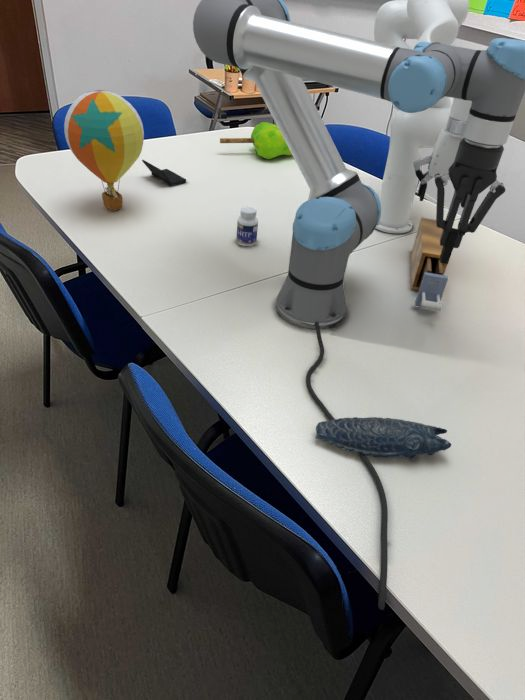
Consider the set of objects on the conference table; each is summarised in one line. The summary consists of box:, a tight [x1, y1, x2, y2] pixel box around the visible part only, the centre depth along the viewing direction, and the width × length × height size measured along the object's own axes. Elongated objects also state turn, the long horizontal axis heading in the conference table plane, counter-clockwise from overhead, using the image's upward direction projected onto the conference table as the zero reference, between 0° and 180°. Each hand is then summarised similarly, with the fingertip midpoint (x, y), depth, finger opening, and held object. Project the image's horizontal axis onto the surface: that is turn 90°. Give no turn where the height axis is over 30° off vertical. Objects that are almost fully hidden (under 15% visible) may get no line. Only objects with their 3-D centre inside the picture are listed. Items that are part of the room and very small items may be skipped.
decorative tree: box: [219, 121, 293, 160], centre depth 186 cm, size 18×10×30 cm
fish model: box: [315, 416, 452, 459], centre depth 82 cm, size 7×21×5 cm, turn 84°
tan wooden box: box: [410, 217, 448, 292], centre depth 127 cm, size 20×6×10 cm, turn 167°
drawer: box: [414, 256, 449, 311], centre depth 118 cm, size 24×5×8 cm, turn 167°
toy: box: [63, 89, 145, 212], centre depth 136 cm, size 20×20×30 cm
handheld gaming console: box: [141, 159, 187, 187], centre depth 162 cm, size 12×7×10 cm
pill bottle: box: [235, 206, 259, 247], centre depth 132 cm, size 5×5×9 cm
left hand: (443, 260), depth 106 cm, fingers closed
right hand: (441, 202), depth 123 cm, fingers open, 9 cm apart
